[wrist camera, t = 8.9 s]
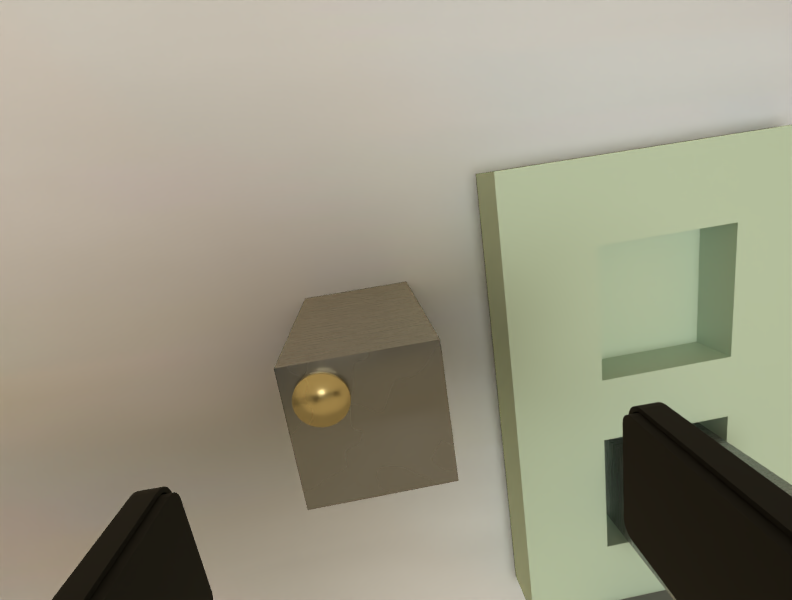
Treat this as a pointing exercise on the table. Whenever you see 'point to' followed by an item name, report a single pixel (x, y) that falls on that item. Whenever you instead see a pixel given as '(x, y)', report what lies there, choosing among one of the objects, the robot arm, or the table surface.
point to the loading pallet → (633, 331)
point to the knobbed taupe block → (365, 396)
